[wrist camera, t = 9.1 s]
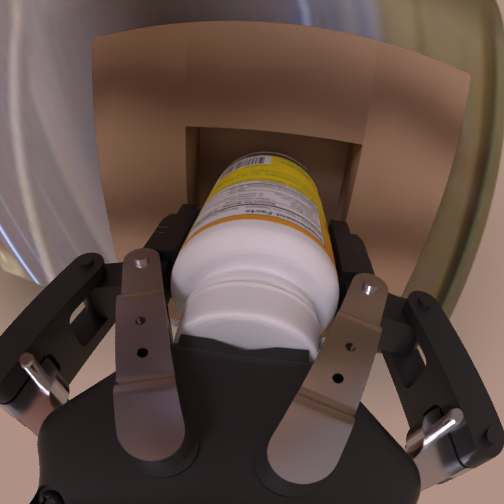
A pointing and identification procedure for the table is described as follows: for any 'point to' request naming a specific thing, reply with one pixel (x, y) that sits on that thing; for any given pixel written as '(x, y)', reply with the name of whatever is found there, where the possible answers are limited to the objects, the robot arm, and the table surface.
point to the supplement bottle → (258, 260)
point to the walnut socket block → (276, 126)
